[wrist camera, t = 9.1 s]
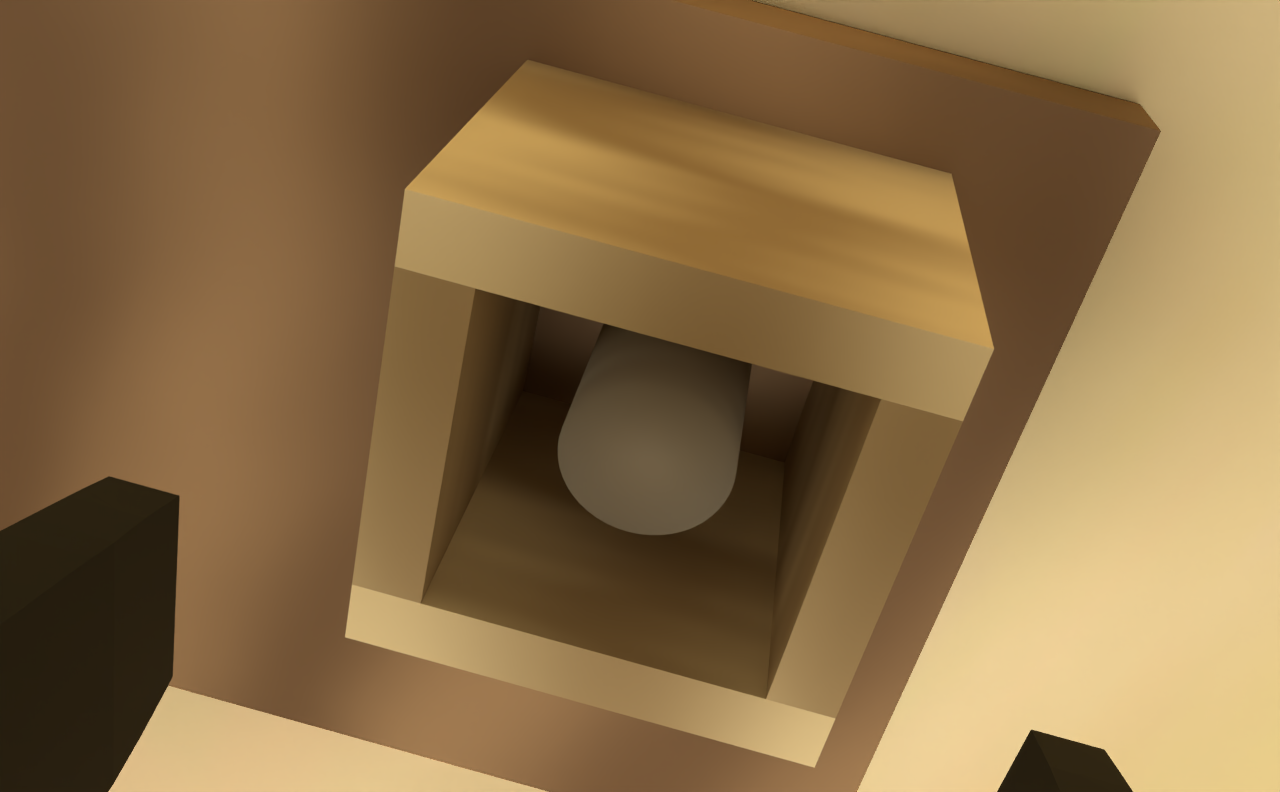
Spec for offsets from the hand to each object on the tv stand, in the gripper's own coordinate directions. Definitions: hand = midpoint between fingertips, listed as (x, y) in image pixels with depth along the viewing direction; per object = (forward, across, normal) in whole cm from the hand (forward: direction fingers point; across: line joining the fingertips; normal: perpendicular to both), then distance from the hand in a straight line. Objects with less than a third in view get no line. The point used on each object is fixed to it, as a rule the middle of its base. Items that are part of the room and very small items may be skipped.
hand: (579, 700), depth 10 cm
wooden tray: (+9, +4, +3) cm, 10 cm away
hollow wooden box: (+8, 0, 0) cm, 8 cm away
